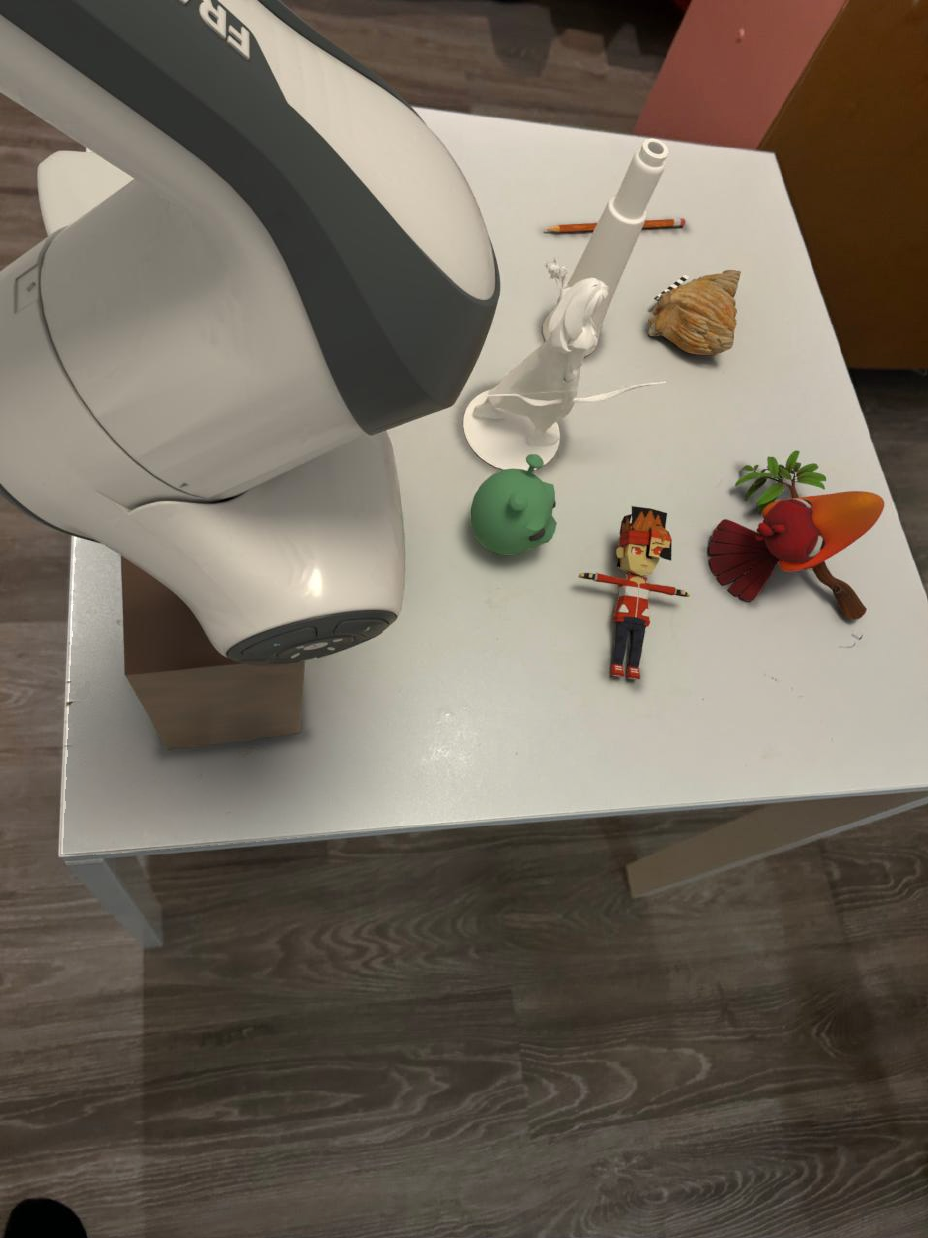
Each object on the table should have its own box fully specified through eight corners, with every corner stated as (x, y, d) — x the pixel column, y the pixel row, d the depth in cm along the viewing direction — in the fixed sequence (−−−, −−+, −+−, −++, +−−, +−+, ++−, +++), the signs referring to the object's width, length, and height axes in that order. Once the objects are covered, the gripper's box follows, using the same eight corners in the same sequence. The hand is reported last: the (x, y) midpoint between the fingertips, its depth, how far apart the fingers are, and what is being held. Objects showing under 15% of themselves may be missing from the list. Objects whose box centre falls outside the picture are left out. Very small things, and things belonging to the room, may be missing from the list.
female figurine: (614, 508, 79) (713, 373, 61) (454, 469, 77) (506, 318, 59) (622, 417, 83) (716, 266, 65) (470, 378, 81) (523, 212, 63)
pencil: (683, 226, 96) (686, 222, 95) (544, 234, 91) (546, 229, 90) (681, 221, 96) (683, 216, 95) (542, 228, 91) (543, 223, 90)
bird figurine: (915, 603, 77) (919, 585, 64) (750, 651, 84) (723, 644, 71) (850, 432, 81) (842, 381, 68) (698, 491, 88) (662, 455, 74)
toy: (576, 666, 68) (598, 494, 70) (554, 669, 75) (576, 511, 77) (691, 685, 70) (711, 516, 72) (661, 687, 76) (679, 531, 78)
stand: (166, 749, 62) (124, 675, 46) (160, 627, 66) (119, 518, 49) (300, 733, 65) (305, 657, 48) (287, 616, 68) (288, 508, 52)
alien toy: (529, 584, 74) (563, 532, 65) (450, 551, 73) (474, 494, 64) (552, 523, 77) (588, 465, 68) (476, 490, 76) (502, 427, 67)
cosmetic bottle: (607, 350, 86) (704, 168, 66) (558, 364, 84) (644, 180, 64) (580, 307, 88) (666, 116, 68) (532, 319, 86) (607, 126, 66)
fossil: (641, 351, 87) (723, 369, 87) (657, 305, 82) (745, 324, 82) (648, 284, 94) (725, 301, 93) (664, 238, 89) (745, 255, 89)
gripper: (506, 284, 38) (456, 78, 43) (23, 277, 33) (28, 45, 38) (477, 372, 44) (436, 181, 49) (62, 378, 39) (62, 165, 44)
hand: (254, 121), depth 43 cm, fingers closed
